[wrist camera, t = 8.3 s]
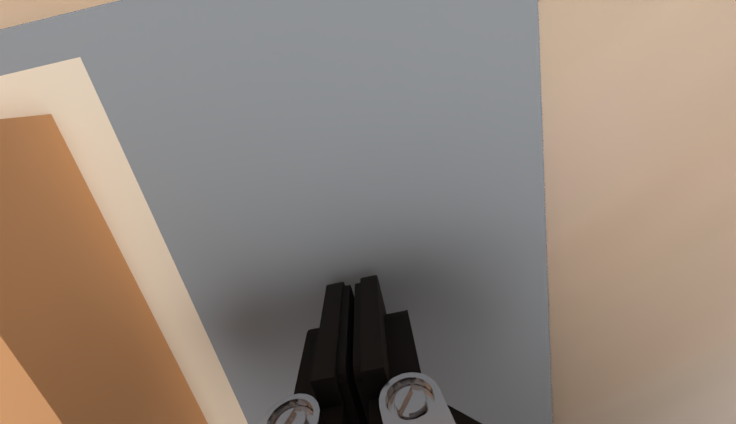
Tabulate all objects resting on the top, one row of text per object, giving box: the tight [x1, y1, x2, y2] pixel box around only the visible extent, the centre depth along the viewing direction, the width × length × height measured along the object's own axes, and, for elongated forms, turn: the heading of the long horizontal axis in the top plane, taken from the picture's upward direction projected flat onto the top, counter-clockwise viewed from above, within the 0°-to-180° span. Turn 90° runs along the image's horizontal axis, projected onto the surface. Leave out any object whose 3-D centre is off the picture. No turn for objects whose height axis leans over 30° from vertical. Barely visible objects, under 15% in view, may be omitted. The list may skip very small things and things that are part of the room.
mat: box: [0, 0, 553, 424], centre depth 13 cm, size 20×30×1 cm, turn 102°
